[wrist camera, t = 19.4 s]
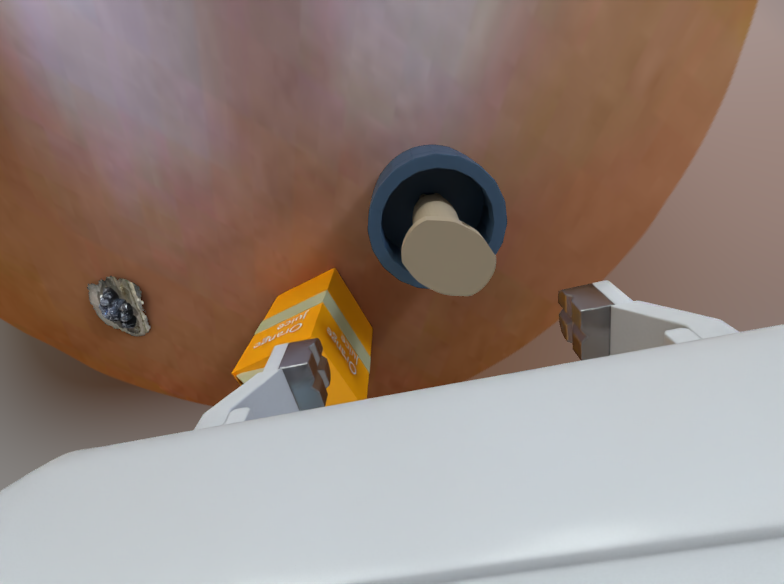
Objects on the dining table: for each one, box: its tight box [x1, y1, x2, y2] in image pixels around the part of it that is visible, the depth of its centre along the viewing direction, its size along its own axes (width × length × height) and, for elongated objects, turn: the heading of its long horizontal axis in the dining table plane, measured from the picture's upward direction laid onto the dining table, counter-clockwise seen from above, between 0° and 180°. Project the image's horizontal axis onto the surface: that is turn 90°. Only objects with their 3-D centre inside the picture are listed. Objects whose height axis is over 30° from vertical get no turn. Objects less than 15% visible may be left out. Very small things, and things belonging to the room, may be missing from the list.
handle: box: [401, 193, 496, 296], centre depth 34 cm, size 5×6×15 cm
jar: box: [368, 145, 507, 289], centre depth 38 cm, size 12×12×8 cm
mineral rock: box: [87, 276, 150, 336], centre depth 45 cm, size 7×8×2 cm
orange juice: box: [231, 268, 373, 406], centre depth 37 cm, size 8×9×20 cm
